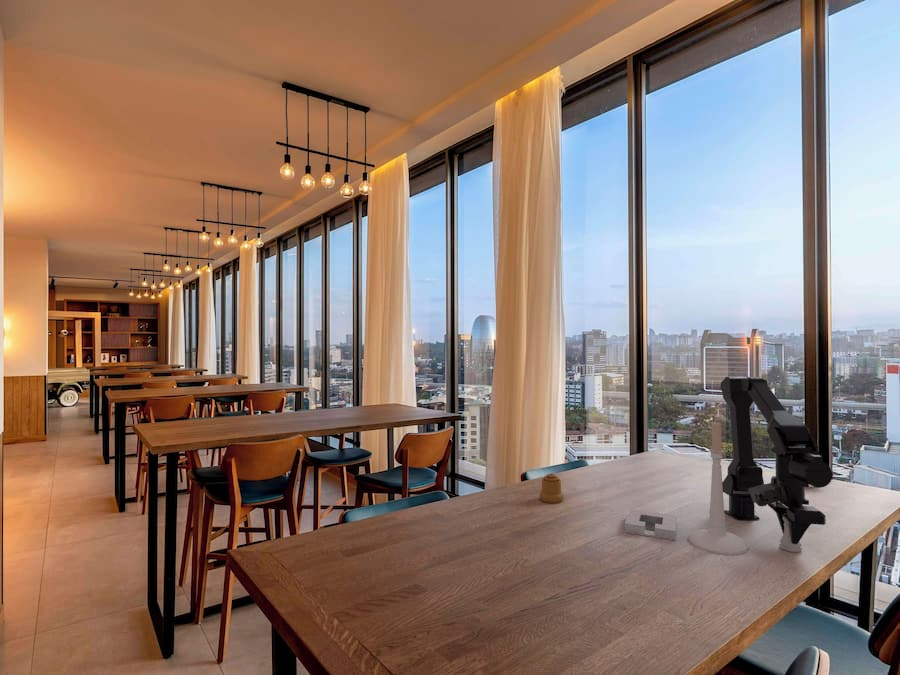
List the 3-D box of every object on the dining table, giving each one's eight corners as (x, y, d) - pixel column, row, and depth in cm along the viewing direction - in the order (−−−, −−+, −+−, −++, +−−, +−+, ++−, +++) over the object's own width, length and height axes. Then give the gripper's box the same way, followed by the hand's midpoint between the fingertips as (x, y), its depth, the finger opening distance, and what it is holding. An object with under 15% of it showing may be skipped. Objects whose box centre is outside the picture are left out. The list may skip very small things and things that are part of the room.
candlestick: (676, 537, 124) (676, 419, 124) (714, 530, 128) (713, 416, 129) (720, 558, 112) (719, 427, 112) (760, 549, 116) (759, 424, 117)
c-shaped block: (629, 517, 138) (629, 509, 138) (676, 524, 132) (676, 515, 133) (624, 532, 127) (624, 523, 127) (675, 540, 122) (675, 530, 122)
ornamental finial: (554, 495, 158) (568, 502, 151) (534, 498, 155) (547, 505, 148) (554, 470, 158) (568, 476, 151) (534, 472, 155) (547, 479, 148)
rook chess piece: (792, 554, 114) (791, 519, 114) (774, 546, 118) (774, 513, 118) (806, 551, 115) (806, 517, 115) (789, 544, 119) (788, 511, 119)
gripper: (738, 464, 128) (738, 524, 127) (770, 484, 109) (771, 554, 109) (785, 466, 125) (785, 527, 125) (826, 487, 107) (827, 558, 107)
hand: (790, 540), depth 117 cm, fingers closed on rook chess piece, 3 cm apart
